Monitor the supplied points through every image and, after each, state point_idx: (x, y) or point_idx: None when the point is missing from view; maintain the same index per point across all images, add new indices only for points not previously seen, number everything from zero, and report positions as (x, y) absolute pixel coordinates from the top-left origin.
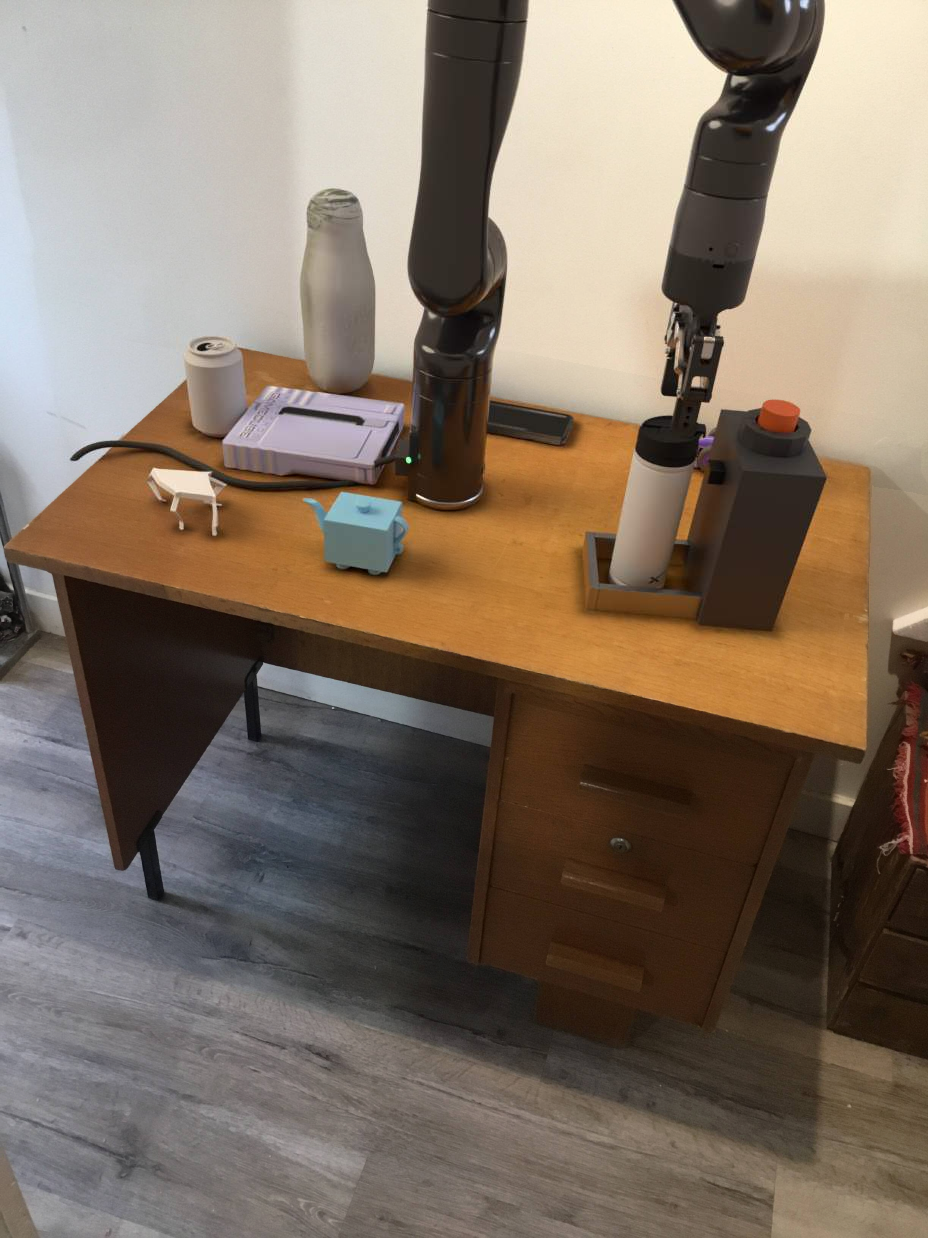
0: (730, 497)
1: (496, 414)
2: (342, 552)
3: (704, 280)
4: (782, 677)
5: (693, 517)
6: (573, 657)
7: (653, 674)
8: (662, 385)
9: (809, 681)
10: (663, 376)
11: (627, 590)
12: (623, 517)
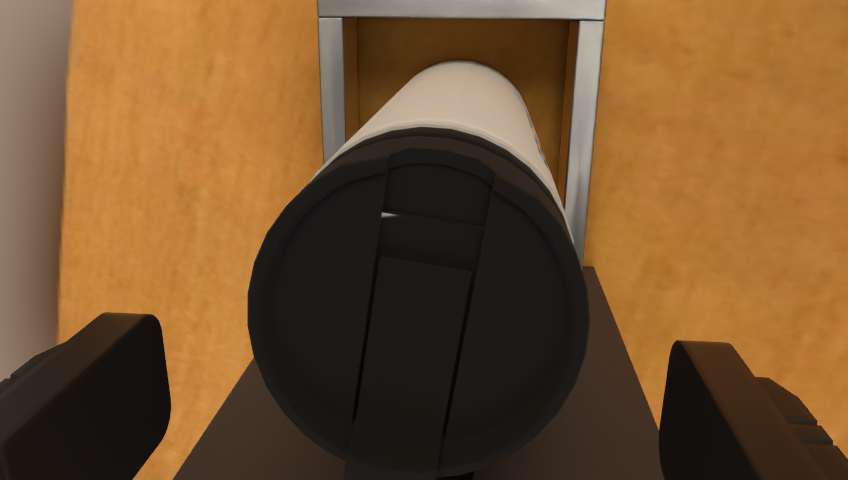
0: (240, 449)
1: None
2: None
3: None
4: (191, 383)
5: (605, 318)
6: None
7: (136, 134)
8: (693, 365)
9: (192, 426)
10: (751, 399)
11: (323, 95)
12: (421, 85)
